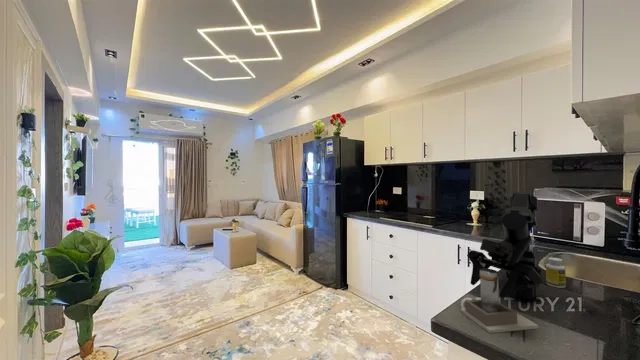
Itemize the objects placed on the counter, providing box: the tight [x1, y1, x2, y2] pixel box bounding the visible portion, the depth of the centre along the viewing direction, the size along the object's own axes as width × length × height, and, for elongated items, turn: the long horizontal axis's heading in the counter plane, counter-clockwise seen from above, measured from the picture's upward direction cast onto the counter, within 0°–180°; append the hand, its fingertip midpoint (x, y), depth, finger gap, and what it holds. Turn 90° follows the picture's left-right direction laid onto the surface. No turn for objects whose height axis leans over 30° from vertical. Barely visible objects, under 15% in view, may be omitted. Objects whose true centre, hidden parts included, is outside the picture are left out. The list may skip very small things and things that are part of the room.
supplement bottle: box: [545, 257, 567, 289], centre depth 98 cm, size 5×5×10 cm
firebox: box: [459, 298, 539, 334], centre depth 76 cm, size 14×12×4 cm
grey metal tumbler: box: [479, 268, 500, 313], centre depth 75 cm, size 5×5×13 cm
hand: (485, 290), depth 75 cm, fingers open, 9 cm apart
